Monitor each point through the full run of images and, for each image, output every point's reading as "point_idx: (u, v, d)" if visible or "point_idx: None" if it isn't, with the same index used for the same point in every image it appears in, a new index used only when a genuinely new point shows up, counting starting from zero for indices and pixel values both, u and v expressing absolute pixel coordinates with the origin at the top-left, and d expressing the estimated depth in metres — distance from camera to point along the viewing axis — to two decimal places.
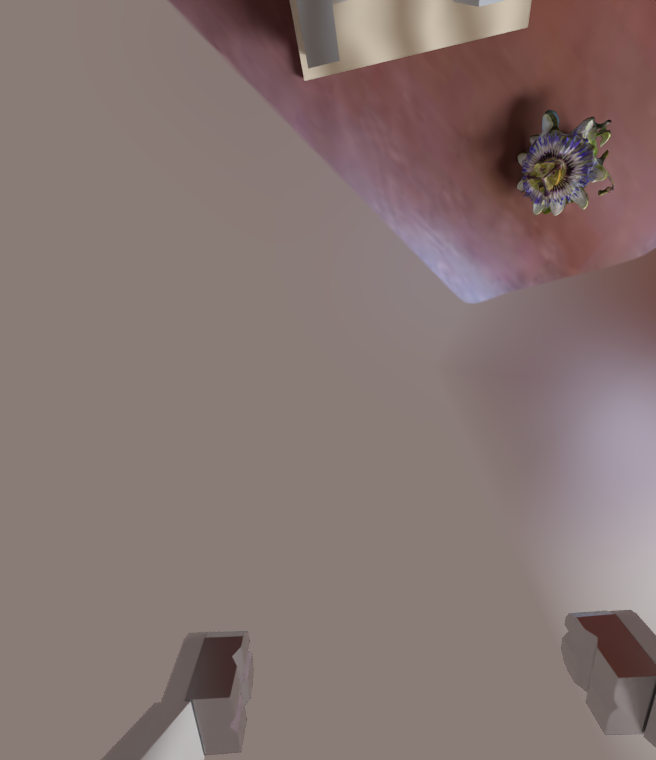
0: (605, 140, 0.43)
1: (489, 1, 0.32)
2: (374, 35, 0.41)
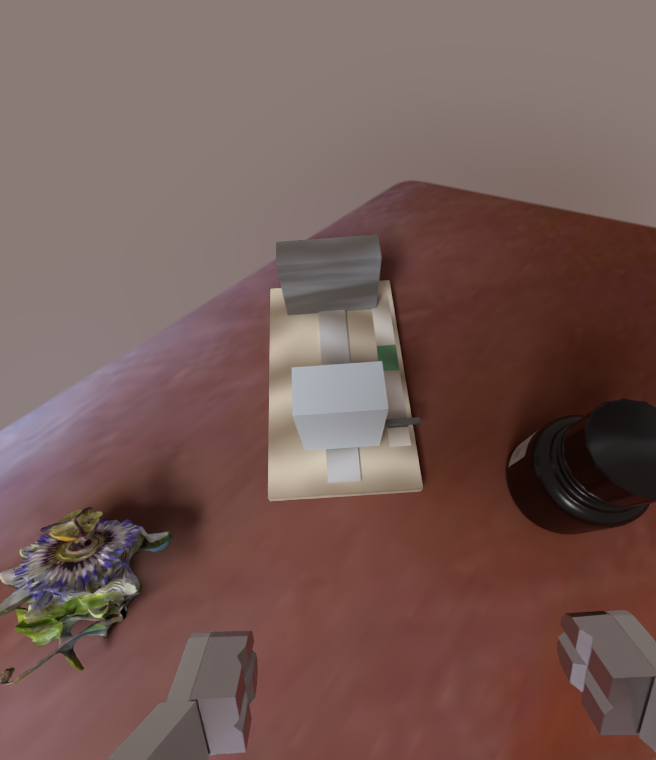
0: (95, 613, 0.26)
1: (293, 377, 0.30)
2: (291, 345, 0.42)
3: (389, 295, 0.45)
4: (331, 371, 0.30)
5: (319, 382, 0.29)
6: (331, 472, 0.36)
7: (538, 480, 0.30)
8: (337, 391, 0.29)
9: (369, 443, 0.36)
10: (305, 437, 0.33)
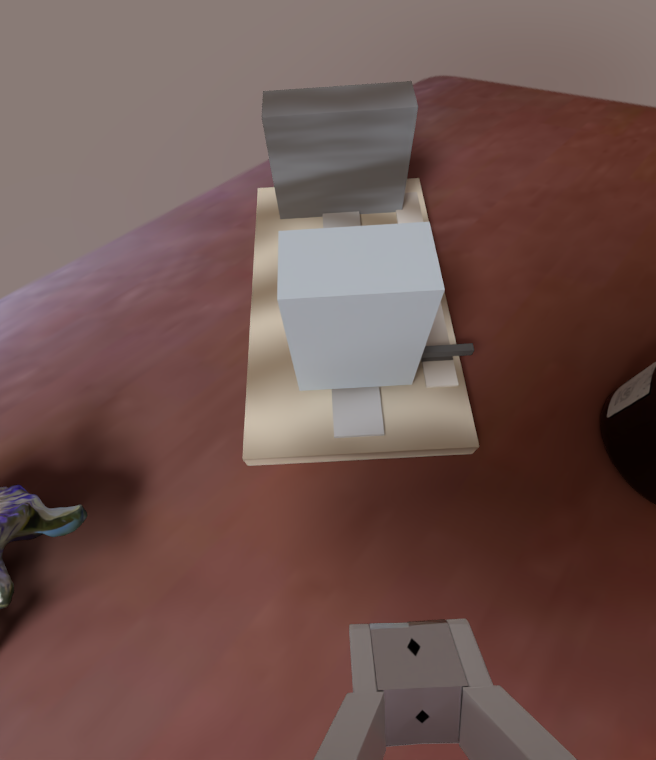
0: None
1: (281, 243, 0.18)
2: None
3: (419, 195, 0.33)
4: (345, 236, 0.18)
5: (324, 251, 0.17)
6: (339, 422, 0.24)
7: None
8: (355, 264, 0.17)
9: (398, 379, 0.24)
10: (300, 360, 0.21)
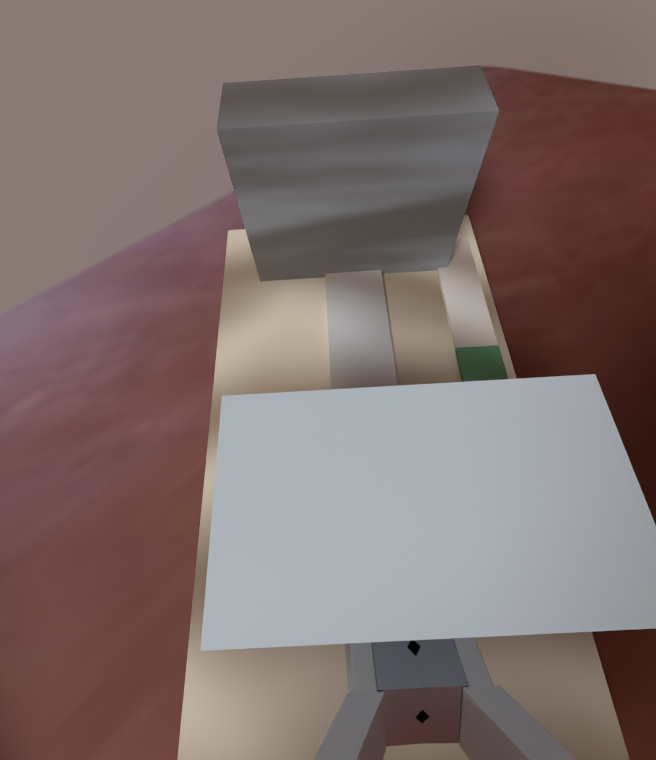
0: None
1: (227, 437, 0.07)
2: (264, 345, 0.19)
3: (471, 243, 0.22)
4: (387, 415, 0.07)
5: (336, 465, 0.07)
6: None
7: None
8: (420, 516, 0.06)
9: None
10: None
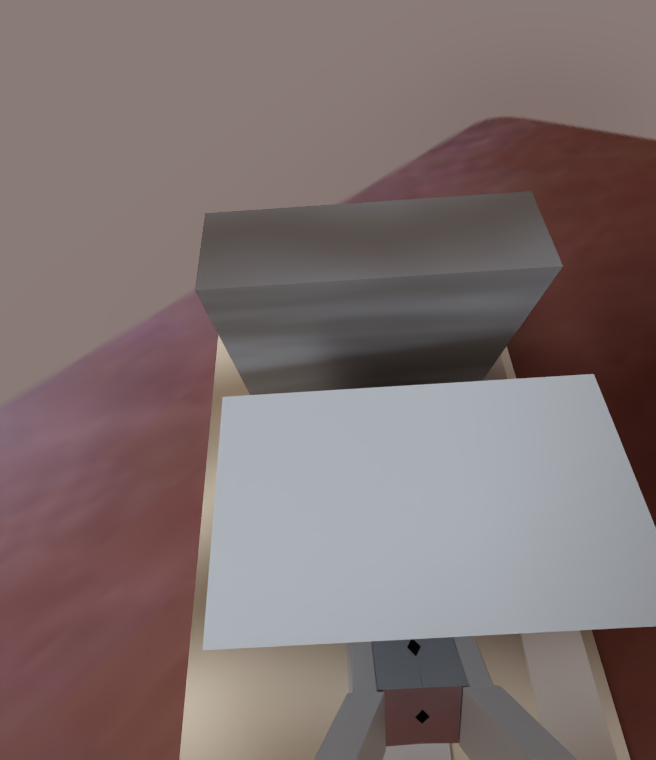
0: None
1: (228, 438, 0.07)
2: None
3: (503, 355, 0.18)
4: (387, 416, 0.07)
5: (337, 465, 0.07)
6: None
7: None
8: (421, 515, 0.06)
9: None
10: None
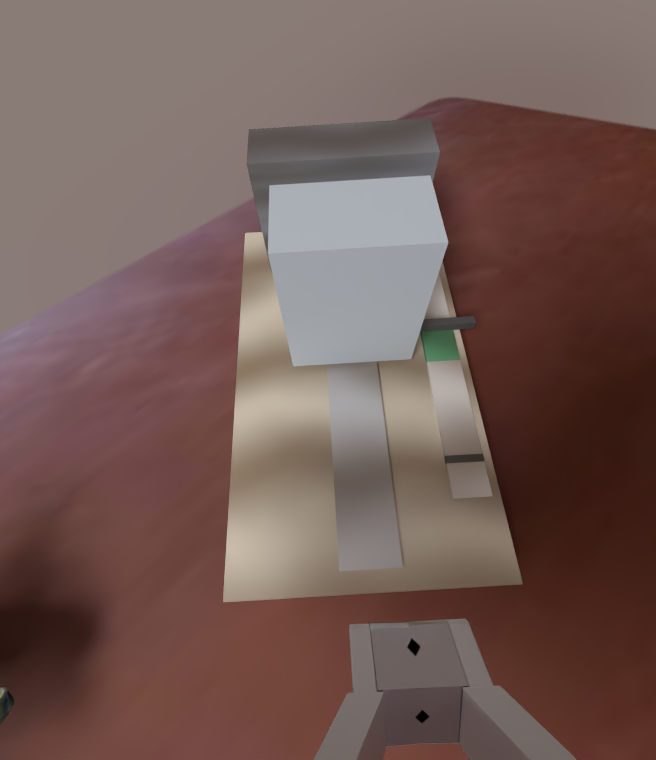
0: None
1: (273, 197, 0.17)
2: (275, 319, 0.25)
3: None
4: (340, 190, 0.17)
5: (319, 205, 0.16)
6: (345, 550, 0.19)
7: None
8: (351, 218, 0.16)
9: (397, 353, 0.22)
10: (294, 330, 0.20)
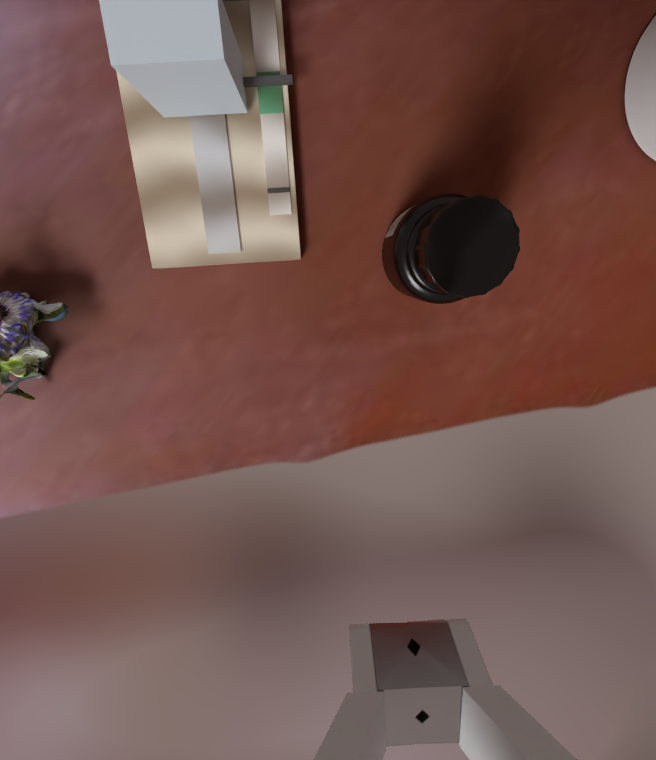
0: (16, 374, 0.33)
1: (102, 2, 0.23)
2: None
3: None
4: None
5: (136, 13, 0.23)
6: (211, 243, 0.36)
7: (394, 262, 0.33)
8: (161, 29, 0.24)
9: (234, 110, 0.32)
10: (152, 99, 0.29)
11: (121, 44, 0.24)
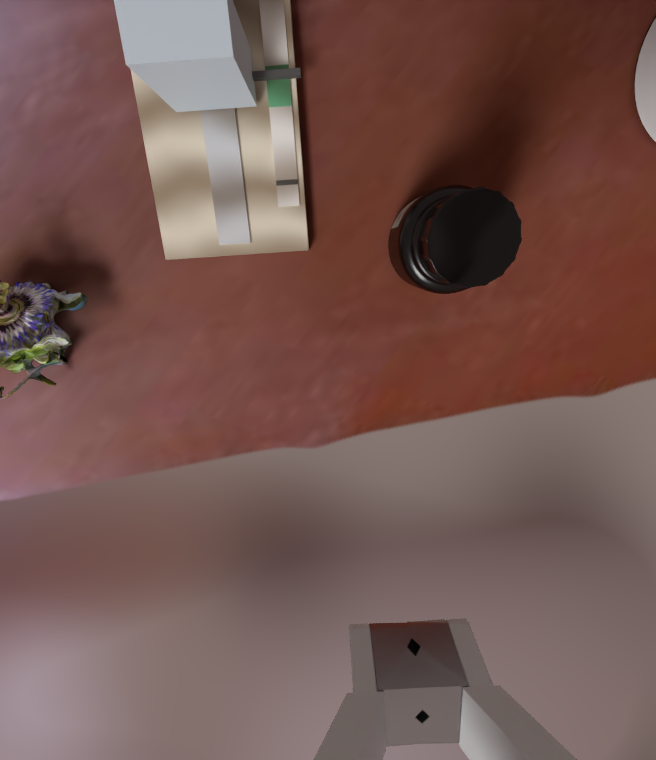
0: (40, 360, 0.35)
1: (117, 3, 0.24)
2: None
3: None
4: None
5: (149, 13, 0.24)
6: (221, 234, 0.37)
7: (399, 253, 0.34)
8: (173, 29, 0.25)
9: (244, 103, 0.33)
10: (165, 95, 0.30)
11: (135, 44, 0.25)
